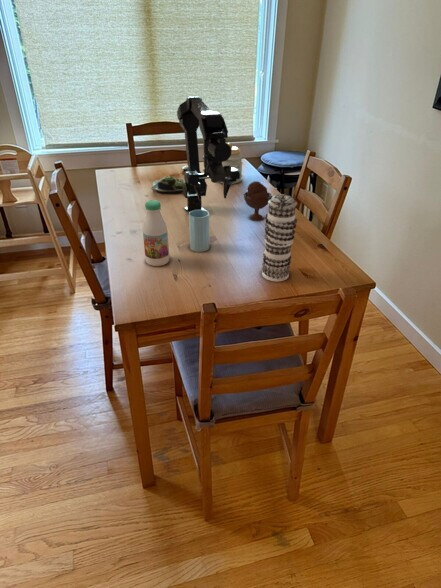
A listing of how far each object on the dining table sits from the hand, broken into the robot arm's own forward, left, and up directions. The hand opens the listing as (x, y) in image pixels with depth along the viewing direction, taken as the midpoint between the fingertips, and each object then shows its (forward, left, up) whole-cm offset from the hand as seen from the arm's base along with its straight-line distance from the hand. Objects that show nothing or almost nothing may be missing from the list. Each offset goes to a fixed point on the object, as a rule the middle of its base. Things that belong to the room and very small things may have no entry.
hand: (212, 199), depth 145 cm
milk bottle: (+9, -27, -13) cm, 31 cm away
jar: (-46, +38, -13) cm, 61 cm away
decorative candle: (+36, +1, -13) cm, 38 cm away
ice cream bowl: (-2, +22, -13) cm, 25 cm away
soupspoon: (-62, +25, -13) cm, 68 cm away
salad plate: (-50, +8, -13) cm, 52 cm away
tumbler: (+8, -10, -13) cm, 18 cm away
